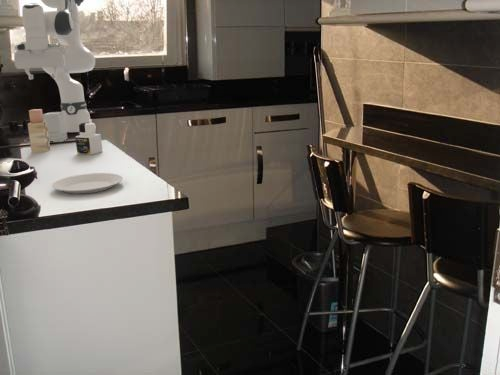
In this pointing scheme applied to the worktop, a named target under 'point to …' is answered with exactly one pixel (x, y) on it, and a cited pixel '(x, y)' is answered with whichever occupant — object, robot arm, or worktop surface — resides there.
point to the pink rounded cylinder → (36, 116)
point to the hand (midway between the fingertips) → (42, 78)
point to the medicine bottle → (88, 139)
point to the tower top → (37, 127)
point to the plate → (87, 183)
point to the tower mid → (39, 137)
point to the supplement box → (56, 126)
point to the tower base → (40, 147)
